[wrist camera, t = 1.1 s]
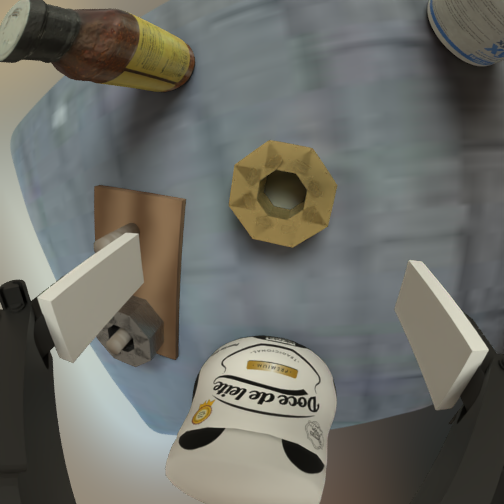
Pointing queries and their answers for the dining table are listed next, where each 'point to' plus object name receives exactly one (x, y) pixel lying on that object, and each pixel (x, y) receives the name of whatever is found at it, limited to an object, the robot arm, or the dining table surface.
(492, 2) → the supplement tub
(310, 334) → the dining table surface
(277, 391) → the milk container
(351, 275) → the dining table surface
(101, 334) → the steel gear
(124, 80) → the sauce bottle
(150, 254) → the gear board
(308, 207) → the brass gear
